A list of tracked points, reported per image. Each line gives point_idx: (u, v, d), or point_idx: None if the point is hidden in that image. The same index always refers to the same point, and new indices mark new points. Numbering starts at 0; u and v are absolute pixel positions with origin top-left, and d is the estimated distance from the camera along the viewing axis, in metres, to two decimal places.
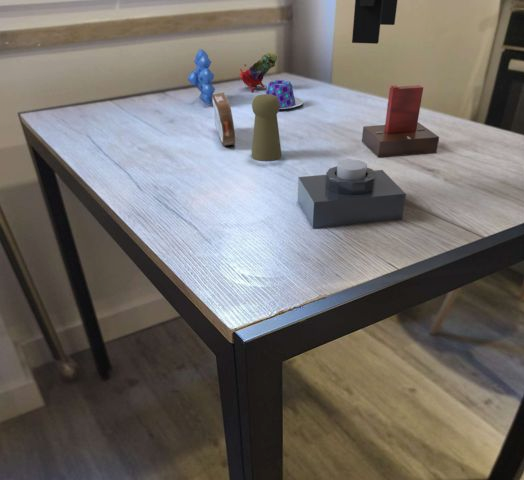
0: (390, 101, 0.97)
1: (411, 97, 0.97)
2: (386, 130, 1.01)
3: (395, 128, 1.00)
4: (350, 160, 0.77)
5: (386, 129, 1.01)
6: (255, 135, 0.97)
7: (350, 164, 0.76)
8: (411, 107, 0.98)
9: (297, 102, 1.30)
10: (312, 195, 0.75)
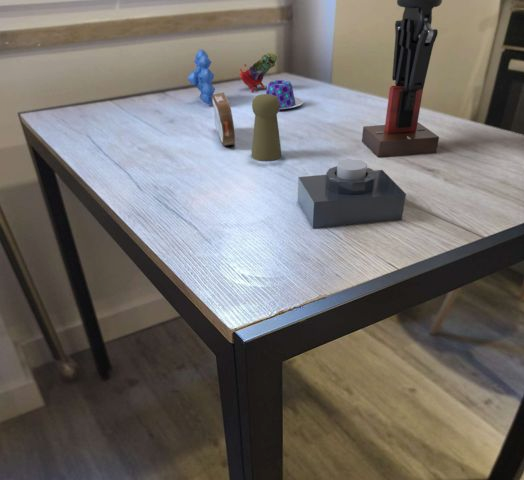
0: (390, 101, 0.97)
1: None
2: (386, 130, 1.01)
3: (395, 128, 1.00)
4: (350, 160, 0.77)
5: (386, 129, 1.01)
6: (255, 135, 0.97)
7: (350, 164, 0.76)
8: None
9: (297, 102, 1.30)
10: (312, 195, 0.75)
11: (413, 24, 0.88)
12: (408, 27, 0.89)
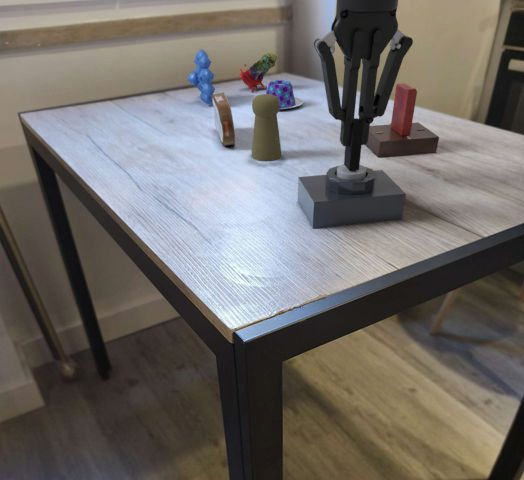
0: (412, 103, 0.96)
1: None
2: (407, 133, 0.99)
3: None
4: None
5: (407, 132, 0.99)
6: (255, 135, 0.97)
7: None
8: None
9: (297, 102, 1.30)
10: (312, 195, 0.75)
11: None
12: (379, 39, 0.64)
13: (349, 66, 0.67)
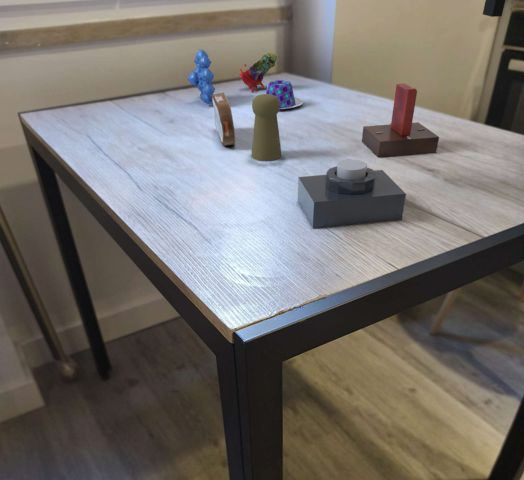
0: (412, 103, 0.96)
1: None
2: (407, 133, 0.99)
3: None
4: (350, 160, 0.77)
5: (407, 132, 0.99)
6: (255, 135, 0.97)
7: (350, 164, 0.76)
8: None
9: (297, 102, 1.30)
10: (312, 195, 0.75)
11: None
12: None
13: None
